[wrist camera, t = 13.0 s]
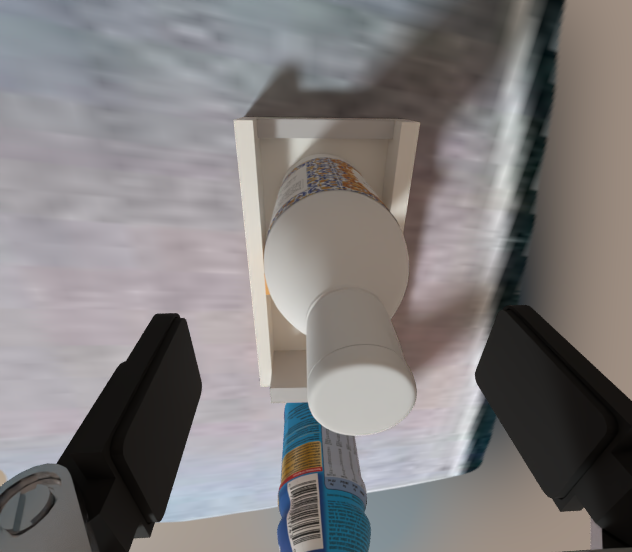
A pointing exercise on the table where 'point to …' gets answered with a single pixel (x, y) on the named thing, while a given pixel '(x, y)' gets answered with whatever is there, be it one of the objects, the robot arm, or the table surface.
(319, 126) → the pusher lane
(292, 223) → the bath foam
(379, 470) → the table surface
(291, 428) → the beverage bottle
